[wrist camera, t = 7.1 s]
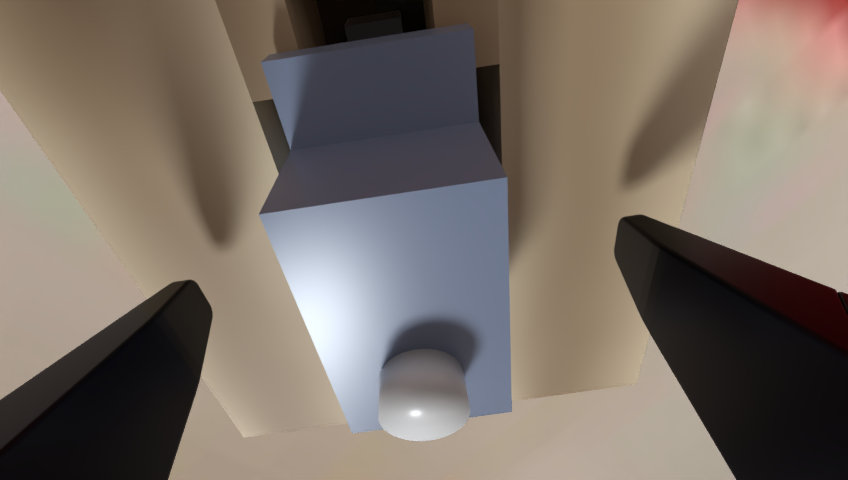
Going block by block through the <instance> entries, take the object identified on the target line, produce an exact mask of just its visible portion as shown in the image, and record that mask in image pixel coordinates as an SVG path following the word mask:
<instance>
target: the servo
mask: <svg viewBox="0 0 848 480" xmlns="http://www.w3.org/2000/svg"><path fill="white" fill-rule="evenodd" d="M344 28H345V32H346V37H347V42H344V43H338V44H332V45H326V46H319V47H313V48H307V49H300V50H294V51H288V52H281V53H275V54H270V55H268V56H267V57H266V58H265V59H264V60H263V61H261V65H262V68H263V71H264V74H265V77H266V80H267V82H268V85H269V88H270V91H271V94H272V97H273V100H274V103H275V106H276V109H277V112H278V115H279V118H280V121H281V124H282V127H283V130H284V133H285V135H286V138H287V141H288V144H289V147H290V150H291V151H290V153H289V155H288V157H287V159H286V161H285V163H284V165H283V167H282V169H281V171H280V173H279V175H278V177H277V179H276V181H275V183H274V185H273V187H272V189H271V191H270V193H269V195H268V197H267V199H266V201H265V203H264V205H263V207H262V209H261V211H260V213H259V217H260V219H261V221H262V224H263V226H264V228H265V231H266V233H267V235H268V238H269V240H270V242H271V245H272V247H273V249H274V252H275V254H276V256H277V259H278V261H279V263H280V266H281V268H282V270H283V273H284V275H285V277H286V280H287V282H288V284H289V287H290V289H291V291H292V294H293V296H294V298H295V301H296V303H297V305H298V308H299V310H300V312H301V315H302V317H303V319H304V322H305V324H306V327H307V329H308V331H309V334H310V336H311V338H312V341H313V343H314V345H315V348H316V350H317V352H318V355H319V357H320V359H321V362H322V364H323V366H324V369H325V371H326V373H327V376H328V378H329V380H330V383H331V385H332V387H333V390H334V392H335V394H336V397H337V399H338V401H339V404H340V406H341V408H342V411H343V413H344V415H345V418H346V420H347V422H348V425H349V427H350V429H351V432H352V433H359V432H367V431H374V430H381V429H384V430H385V431H386V432H388V433H389V434H391V435H393V436H395V437H397V438H401V439H405V440H411V441H428V440H435V439H439V438H443V437H446V436H448V435H451V434H453V433H454V432H456V431H458V430H459V429H460V428H462V427H463V426H464V425H465V424H466V422H467V421H468V419H469V417H477V416H484V415H491V414H499V413H506V412H512V393H511V341H510V289H509V238H508V186H507V176H506V174H505V172H504V170H503V168H502V166H501V164H500V162H499V160H498V158H497V156H496V154H495V152H494V150H493V148H492V146H491V144H490V142H489V140H488V138H487V136H486V134H485V132H484V130H483V128H482V127H481V125H480V123H479V113H478V96H477V79H476V61H475V44H474V28H473V27H472V26H470V25H469V24H468V23H464V24H458V25H452V26H445V27H439V28H433V29H426V30H420V31H414V32H407V33H403V28H402V21H401V14H400V10H399V11H393V12H386V13H380V14H374V15H368V16H361V17H355V18H349V19H348V21H347V22H346V24H345V26H344Z"/></svg>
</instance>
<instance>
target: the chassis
mask: <svg viewBox="0 0 848 480" xmlns="http://www.w3.org/2000/svg"><path fill="white" fill-rule="evenodd" d="M423 4H424V13H425V22H426V29H433V28H439V27H445V26H452V25H458V24H464V23H468V24H469V25H470V26H472V27H473V28H474V44H475V61H476V79H477V96H478V113H479V123H480V125H481V127H482V128H483V130H484V132H485V134H486V136H487V138H488V140H489V142H490V144H491V146H492V148H493V150H494V152H495V154H496V156H497V158H498V160H499V162H500V164H501V166H502V168H503V170H504V172H505V174H506V176H507V186H508V238H509V289H510V341H511V393H512V401H517V400H524V399H531V398H539V397H546V396H553V395H561V394H568V393H575V392H583V391H590V390H597V389H605V388H612V387H619V386H627V385H634V384H637V380H638V376H639V373H640V369H641V365H642V361H643V358H644V354H645V350H646V346H647V343H648V339H649V335H650V333H649V331H648V329H647V327H646V326H645V324H644V322H643V320H642V318H641V316H640V314H639V312H638V310H637V308H636V305H635V303H634V301H633V298H632V296H631V294H630V292H629V289H628V287H627V285H626V283H625V280H624V278H623V276H622V273H621V271H620V269H619V267H618V264H617V262H616V260H615V256H614V246H615V240H616V233H617V227H618V223H619V220H620V219H621V218H622V217H624V216H631V215H638V214H642V215H645V216H648V217H650V218H653V219H655V220H658V221H661V222H663V223H666V224H668V225H671V226H673V227H676V228H678V226H679V222H680V218H681V215H682V211H683V207H684V203H685V200H686V196H687V192H688V188H689V185H690V181H691V177H692V173H693V169H694V166H695V162H696V158H697V154H698V151H699V147H700V143H701V139H702V136H703V132H704V128H705V124H706V121H707V117H708V113H709V109H710V105H711V102H712V98H713V94H714V90H715V87H716V83H717V79H718V75H719V72H720V68H721V64H722V60H723V57H724V53H725V49H726V45H727V42H728V38H729V34H730V30H731V26H732V23H733V19H734V15H735V11H736V8H737V4H738V0H423ZM326 45H327V43H326V39H325V35H324V30H323V26H322V22H321V18H320V14H319V10H318V6H317V2H316V0H0V91H1V92H2V94H3V95H4V96H5V98H6V99H7V101H8V102H9V104H10V105H11V106H12V108H13V109H14V111H15V112H16V114H17V115H18V116H19V118H20V119H21V121H22V122H23V124H24V125H25V126H26V128H27V129H28V131H29V132H30V133H31V135H32V136H33V138H34V139H35V141H36V142H37V143H38V145H39V146H40V148H41V149H42V151H43V152H44V153H45V155H46V156H47V158H48V159H49V161H50V162H51V163H52V165H53V166H54V168H55V169H56V171H57V172H58V173H59V175H60V176H61V178H62V179H63V180H64V182H65V183H66V185H67V186H68V188H69V189H70V190H71V192H72V193H73V195H74V196H75V198H76V199H77V200H78V202H79V203H80V205H81V206H82V208H83V209H84V210H85V212H86V213H87V215H88V216H89V217H90V219H91V220H92V222H93V223H94V225H95V226H96V227H97V229H98V230H99V232H100V233H101V235H102V236H103V237H104V239H105V240H106V242H107V243H108V245H109V246H110V247H111V249H112V250H113V252H114V253H115V255H116V256H117V257H118V259H119V260H120V262H121V263H122V264H123V266H124V267H125V269H126V270H127V272H128V273H129V274H130V276H131V277H132V279H133V280H134V282H135V283H136V284H137V286H138V287H139V289H140V290H141V292H142V293H143V294H144V296H145V297H146V299H148V298H150V297H151V296H153V295H154V294H156V293H157V292H159V291H160V290H161V289H163V288H164V287H166V286H167V285H169V284H170V283H172V282H175V281H182V280H189V279H191V280H194V281H195V282H197V284H198V285H199V287H200V288H201V290H202V292H203V293H204V295H205V297H206V299H207V300H208V302H209V304H210V305H211V308H212V311H213V319H212V324H211V329H210V334H209V338H208V343H207V348H206V353H205V358H204V363H203V368H202V372H201V377H202V378H203V380H204V381H205V383H206V384H207V385H208V387H209V388H210V390H211V391H212V393H213V394H214V395H215V397H216V398H217V400H218V401H219V403H220V404H221V405H222V407H223V408H224V410H225V411H226V413H227V414H228V415H229V417H230V418H231V420H232V421H233V422H234V424H235V425H236V427H237V428H238V430H239V431H240V432H241V434H242V435H243V437H244V438H245V437H252V436H259V435H267V434H274V433H281V432H289V431H296V430H303V429H311V428H318V427H326V426H333V425H340V424H348V422H347V420H346V418H345V415H344V413H343V411H342V408H341V406H340V404H339V401H338V399H337V397H336V394H335V392H334V390H333V387H332V385H331V383H330V380H329V378H328V376H327V373H326V371H325V369H324V366H323V364H322V362H321V359H320V357H319V355H318V352H317V350H316V348H315V345H314V343H313V341H312V338H311V336H310V334H309V331H308V329H307V327H306V324H305V322H304V319H303V317H302V315H301V312H300V310H299V308H298V305H297V303H296V301H295V298H294V296H293V294H292V291H291V289H290V287H289V284H288V282H287V280H286V277H285V275H284V273H283V270H282V268H281V266H280V263H279V261H278V259H277V256H276V254H275V252H274V249H273V247H272V245H271V242H270V240H269V238H268V235H267V233H266V231H265V228H264V226H263V224H262V221H261V219H260V217H259V213H260V211H261V209H262V207H263V205H264V203H265V201H266V199H267V197H268V195H269V193H270V191H271V189H272V187H273V185H274V183H275V181H276V179H277V177H278V175H279V173H280V171H281V169H282V167H283V165H284V163H285V161H286V159H287V157H288V155H289V153H290V151H291V150H290V147H289V144H288V141H287V138H286V135H285V133H284V130H283V127H282V124H281V121H280V118H279V115H278V112H277V109H276V106H275V103H274V100H273V97H272V94H271V91H270V88H269V85H268V82H267V80H266V77H265V74H264V71H263V68H262V65H261V61H263V60H264V59H265V58H266V57H267V56H268V55H270V54H275V53H281V52H288V51H294V50H300V49H307V48H313V47H319V46H326Z"/></svg>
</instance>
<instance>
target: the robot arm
mask: <svg viewBox="0 0 848 480" xmlns="http://www.w3.org/2000/svg"><path fill="white" fill-rule="evenodd" d="M614 256H615V260H616V262H617V264H618V267H619V269H620V271H621V273H622V276H623V278H624V280H625V283H626V285H627V287H628V289H629V292H630V294H631V296H632V298H633V301H634V303H635V305H636V308H637V310H638V312H639V314H640V316H641V318H642V320H643V322H644V324H645V326H646V327H647V329H648V331H649V333H650V334H651V336H652V338H653V339H654V341H655V343H656V345H657V346H658V348H659V350H660V351H661V353H662V355H663V356H664V358H665V360H666V361H667V363H668V365H669V367H670V368H671V370H672V372H673V373H674V375H675V377H676V378H677V380H678V382H679V383H680V385H681V387H682V389H683V390H684V392H685V394H686V395H687V397H688V399H689V400H690V402H691V404H692V405H693V407H694V409H695V411H696V412H697V414H698V416H699V417H700V419H701V421H702V422H703V424H704V426H705V427H706V429H707V431H708V433H709V434H710V436H711V438H712V439H713V441H714V443H715V444H716V446H717V448H718V449H719V451H720V453H721V455H722V456H723V458H724V460H725V461H726V463H727V465H728V466H729V468H730V470H731V471H732V473H733V475H734V477H735V478H736V480H848V294H846V293H843V292H838V293H837V291H836V290H835V289H833V288H830V287H828V286H825V285H823V284H820V283H817V282H815V281H812V280H810V279H807V278H805V277H802V276H799V275H797V274H794V273H792V272H789V271H787V270H784V269H781V268H779V267H776V266H774V265H771V264H769V263H766V262H763V261H761V260H758V259H756V258H753V257H751V256H748V255H745V254H743V253H740V252H738V251H735V250H733V249H730V248H727V247H725V246H722V245H720V244H717V243H715V242H712V241H709V240H707V239H704V238H702V237H699V236H697V235H694V234H691V233H689V232H686V231H684V230H681V229H679V228H676V227H673V226H671V225H668V224H666V223H663V222H661V221H658V220H655V219H653V218H650V217H648V216H645V215H642V214H638V215H631V216H624V217H622V218H621V219H620V220H619V223H618V227H617V233H616V240H615V246H614ZM212 319H213V311H212V308H211V305H210V304H209V302H208V300H207V299H206V297H205V295H204V293H203V292H202V290H201V288H200V287H199V285H198V284H197V282H195V281H194V280H191V279H189V280H182V281H175V282H172V283H170V284H169V285H167V286H166V287H164V288H163V289H161V290H160V291H159V292H157V293H156V294H154V295H153V296H151V297H150V298H148V299H147V300H145V301H144V302H142V303H141V304H140V305H138V306H137V307H135V308H134V309H132V310H131V311H129V312H128V313H126V314H125V315H124V316H122V317H121V318H119V319H118V320H116V321H115V322H113V323H112V324H110V325H109V326H107V327H106V328H105V329H103V330H102V331H100V332H99V333H97V334H96V335H94V336H93V337H91V338H90V339H89V340H87V341H86V342H84V343H83V344H81V345H80V346H78V347H77V348H75V349H74V350H72V351H71V352H70V353H68V354H67V355H65V356H64V357H62V358H61V359H59V360H58V361H56V362H55V363H54V364H52V365H51V366H49V367H48V368H46V369H45V370H43V371H42V372H40V373H39V374H37V375H36V376H35V377H33V378H32V379H30V380H29V381H27V382H26V383H24V384H23V385H21V386H20V387H19V388H17V389H16V390H14V391H13V392H11V393H10V394H8V395H7V396H5V397H4V398H2V399H1V400H0V480H168V478H169V475H170V472H171V469H172V466H173V462H174V459H175V456H176V453H177V450H178V447H179V444H180V441H181V438H182V435H183V432H184V428H185V425H186V422H187V419H188V416H189V413H190V410H191V407H192V404H193V401H194V397H195V394H196V391H197V388H198V384H199V381H200V377H201V372H202V368H203V363H204V358H205V353H206V348H207V343H208V338H209V334H210V329H211V324H212Z"/></svg>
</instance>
